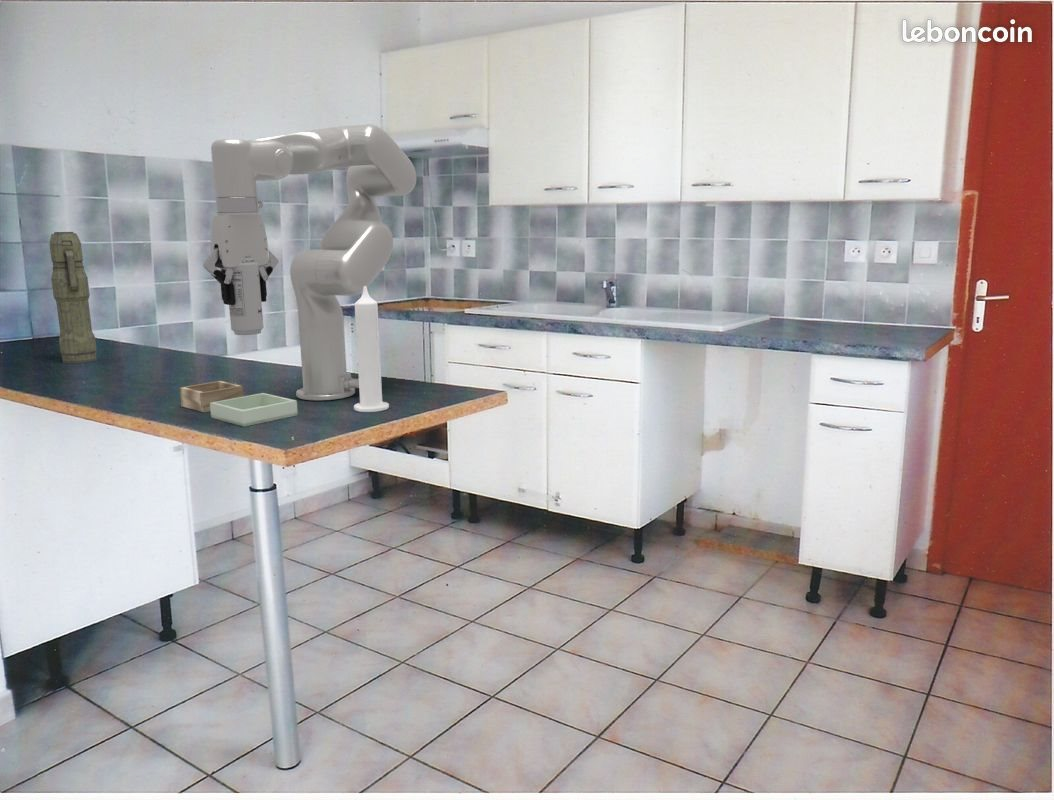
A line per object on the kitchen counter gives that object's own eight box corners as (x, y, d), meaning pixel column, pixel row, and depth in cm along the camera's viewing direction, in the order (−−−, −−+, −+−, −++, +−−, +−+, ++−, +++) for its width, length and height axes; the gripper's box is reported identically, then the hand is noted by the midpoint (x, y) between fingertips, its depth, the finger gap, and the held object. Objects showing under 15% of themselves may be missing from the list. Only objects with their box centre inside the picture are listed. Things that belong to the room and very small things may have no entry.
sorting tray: (297, 415, 175) (296, 400, 174) (243, 426, 166) (242, 411, 165) (264, 406, 182) (263, 392, 182) (211, 417, 174) (209, 402, 173)
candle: (377, 413, 175) (371, 288, 170) (347, 410, 178) (339, 287, 172) (395, 406, 182) (389, 284, 176) (365, 403, 184) (359, 284, 179)
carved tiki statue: (69, 365, 235) (52, 232, 228) (56, 360, 244) (39, 232, 236) (104, 361, 241) (88, 231, 234) (89, 356, 250) (74, 231, 242)
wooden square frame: (244, 404, 185) (242, 386, 184) (203, 412, 178) (201, 393, 177) (221, 398, 191) (219, 380, 190) (181, 406, 184) (179, 387, 183)
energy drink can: (268, 333, 170) (262, 255, 167) (238, 336, 167) (231, 256, 163) (256, 330, 175) (250, 254, 172) (227, 333, 171) (220, 255, 168)
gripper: (266, 207, 174) (273, 297, 178) (184, 208, 162) (193, 305, 165) (287, 206, 169) (294, 300, 173) (205, 207, 157) (214, 308, 161)
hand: (245, 301), depth 169 cm, fingers closed on energy drink can, 6 cm apart
